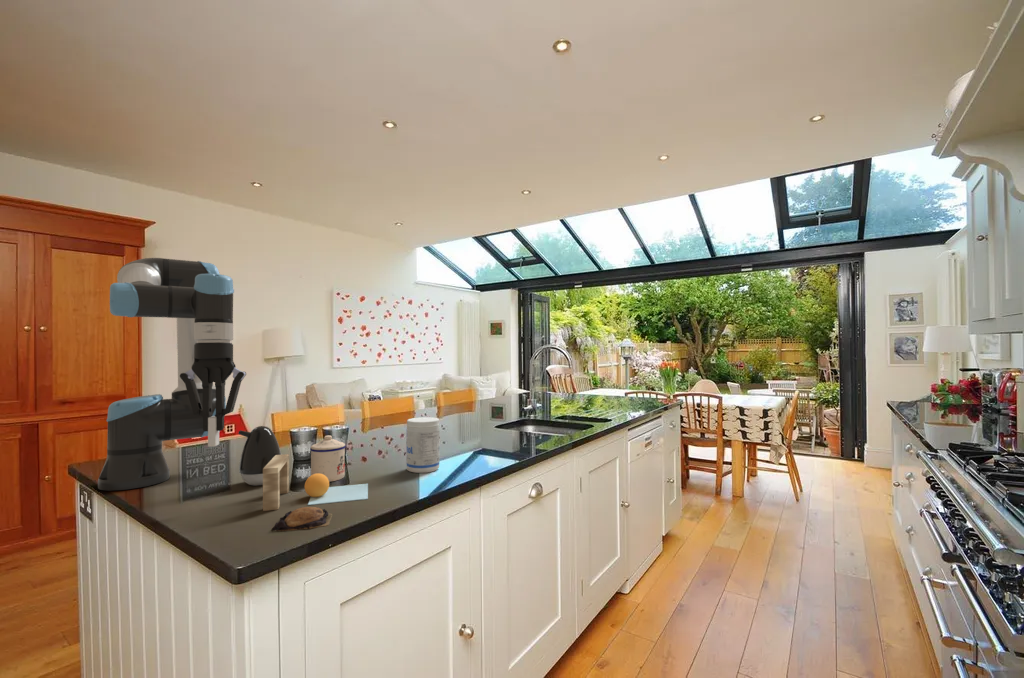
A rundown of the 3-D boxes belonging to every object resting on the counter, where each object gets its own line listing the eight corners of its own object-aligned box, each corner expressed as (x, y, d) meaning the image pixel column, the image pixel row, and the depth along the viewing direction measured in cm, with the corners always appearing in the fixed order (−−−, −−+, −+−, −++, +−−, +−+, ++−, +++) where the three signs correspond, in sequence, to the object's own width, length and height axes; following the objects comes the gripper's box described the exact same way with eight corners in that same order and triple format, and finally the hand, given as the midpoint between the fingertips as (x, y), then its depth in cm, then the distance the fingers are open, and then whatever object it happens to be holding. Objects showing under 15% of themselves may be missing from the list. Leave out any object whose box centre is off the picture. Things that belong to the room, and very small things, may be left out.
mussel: (333, 516, 100) (333, 498, 100) (328, 530, 92) (328, 511, 92) (280, 520, 97) (280, 503, 97) (269, 536, 89) (269, 516, 89)
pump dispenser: (241, 480, 127) (241, 424, 127) (283, 476, 131) (283, 422, 131) (235, 490, 117) (235, 430, 118) (281, 485, 121) (281, 427, 122)
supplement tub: (401, 469, 137) (400, 419, 137) (430, 463, 142) (429, 416, 143) (415, 475, 129) (415, 422, 129) (445, 470, 135) (445, 419, 135)
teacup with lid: (344, 481, 125) (344, 437, 125) (308, 484, 122) (308, 440, 122) (346, 470, 136) (346, 430, 136) (313, 473, 133) (313, 432, 134)
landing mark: (314, 489, 117) (314, 488, 117) (367, 484, 121) (367, 483, 121) (307, 505, 105) (307, 504, 105) (367, 499, 109) (367, 498, 109)
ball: (321, 466, 114) (335, 483, 115) (302, 481, 113) (316, 498, 114) (317, 471, 109) (332, 489, 109) (297, 487, 108) (312, 505, 108)
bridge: (262, 511, 101) (262, 468, 102) (275, 492, 115) (275, 455, 116) (277, 509, 102) (277, 467, 103) (288, 490, 116) (288, 454, 116)
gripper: (174, 341, 101) (173, 450, 100) (241, 341, 104) (241, 446, 104) (187, 342, 108) (186, 444, 107) (249, 342, 112) (249, 440, 111)
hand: (213, 445), depth 105 cm, fingers closed
